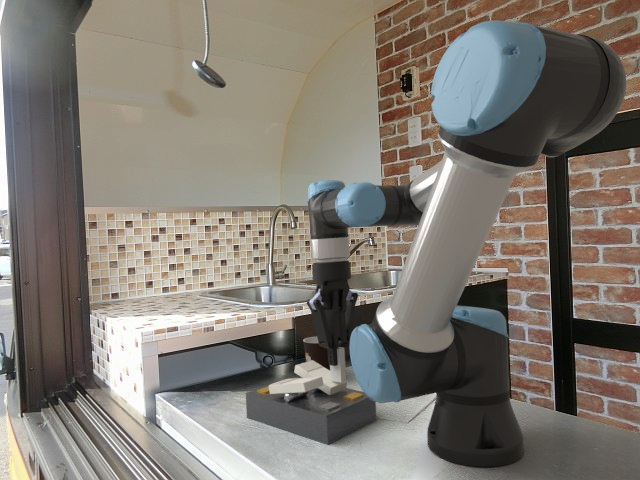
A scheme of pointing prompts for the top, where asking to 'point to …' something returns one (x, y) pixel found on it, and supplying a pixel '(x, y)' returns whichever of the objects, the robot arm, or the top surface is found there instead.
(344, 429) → the switch unit
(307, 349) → the coffee mug
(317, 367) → the rocker right
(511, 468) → the top surface
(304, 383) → the rocker left
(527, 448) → the top surface
